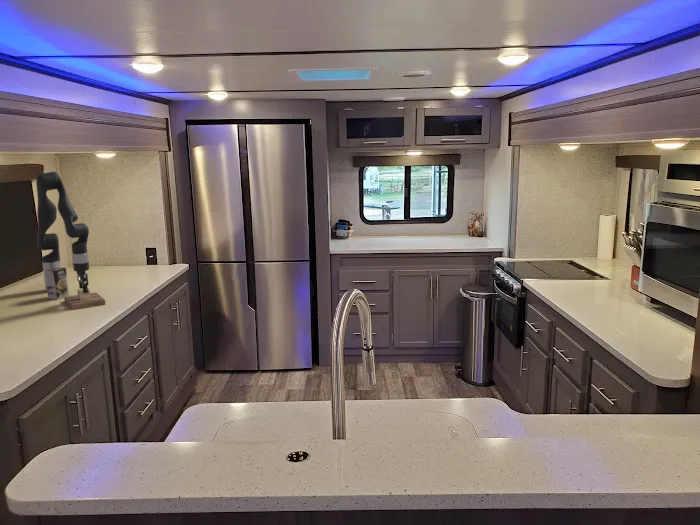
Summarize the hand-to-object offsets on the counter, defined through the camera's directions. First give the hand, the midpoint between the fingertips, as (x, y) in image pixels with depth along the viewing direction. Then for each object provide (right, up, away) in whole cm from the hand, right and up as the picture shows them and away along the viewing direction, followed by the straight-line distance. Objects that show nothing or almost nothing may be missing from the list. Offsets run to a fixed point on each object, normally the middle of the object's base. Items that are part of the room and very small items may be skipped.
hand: (83, 291), depth 293 cm
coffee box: (-20, -4, +12) cm, 24 cm away
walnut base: (0, -6, +1) cm, 7 cm away
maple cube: (0, -4, +1) cm, 4 cm away
